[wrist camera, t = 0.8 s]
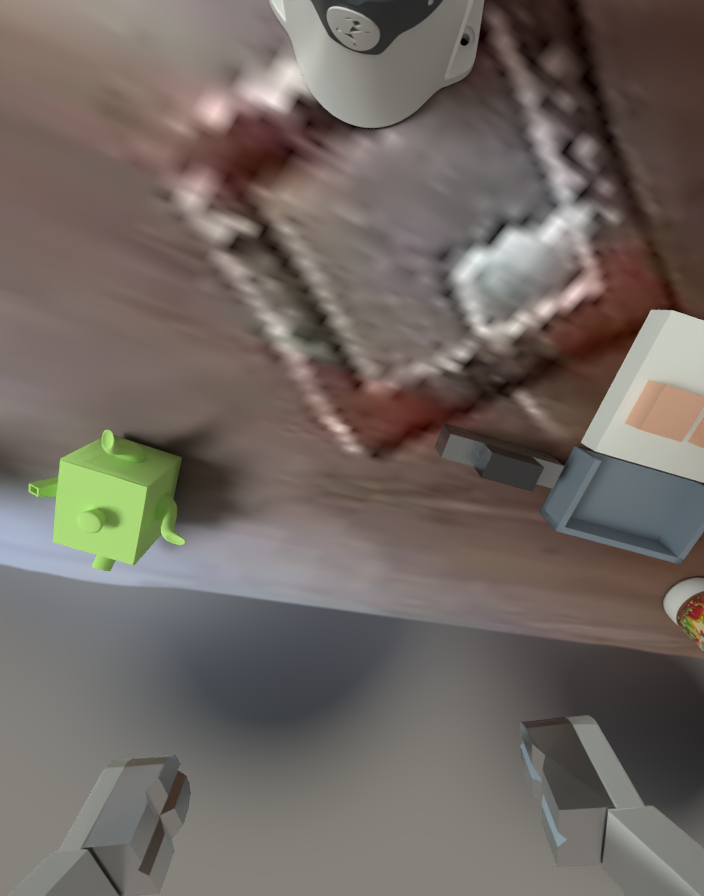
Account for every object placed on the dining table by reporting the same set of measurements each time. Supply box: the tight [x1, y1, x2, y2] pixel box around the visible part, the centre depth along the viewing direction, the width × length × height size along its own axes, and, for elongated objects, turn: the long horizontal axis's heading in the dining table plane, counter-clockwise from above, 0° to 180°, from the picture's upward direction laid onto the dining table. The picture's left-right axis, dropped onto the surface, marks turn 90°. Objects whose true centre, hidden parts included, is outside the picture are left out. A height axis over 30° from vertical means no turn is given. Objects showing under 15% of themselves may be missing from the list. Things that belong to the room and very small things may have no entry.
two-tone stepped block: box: [435, 424, 564, 491], centre depth 45 cm, size 3×14×7 cm, turn 74°
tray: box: [540, 446, 704, 564], centre depth 47 cm, size 10×17×4 cm, turn 74°
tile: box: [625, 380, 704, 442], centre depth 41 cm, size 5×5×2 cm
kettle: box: [28, 430, 185, 571], centre depth 45 cm, size 15×14×11 cm
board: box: [581, 310, 704, 483], centre depth 44 cm, size 16×16×3 cm
